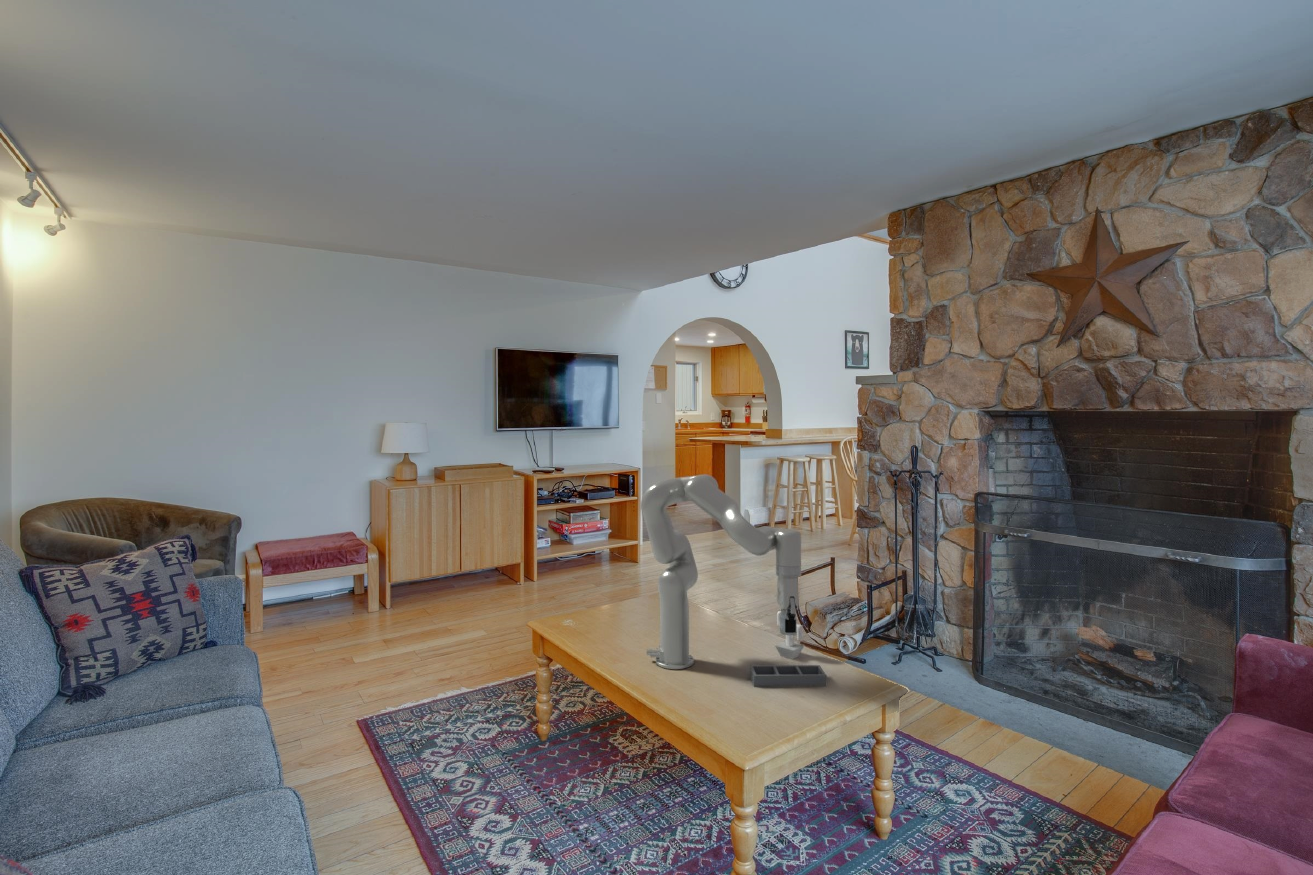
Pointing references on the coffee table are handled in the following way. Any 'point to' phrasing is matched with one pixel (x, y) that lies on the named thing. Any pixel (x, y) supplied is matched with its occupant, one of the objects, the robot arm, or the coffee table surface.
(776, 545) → the robot arm
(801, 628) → the figurine
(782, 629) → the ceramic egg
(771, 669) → the grey compartment tray
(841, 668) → the coffee table surface
